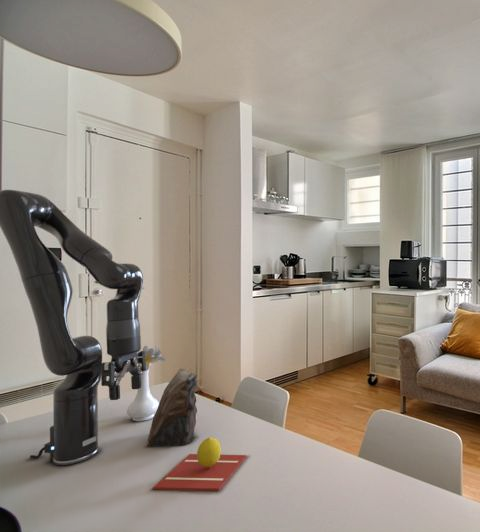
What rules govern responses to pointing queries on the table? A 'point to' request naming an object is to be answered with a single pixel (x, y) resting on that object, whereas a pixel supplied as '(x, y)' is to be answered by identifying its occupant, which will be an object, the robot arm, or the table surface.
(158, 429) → the brown rock
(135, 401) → the flower vase
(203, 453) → the lemon
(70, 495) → the table surface
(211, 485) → the pot holder
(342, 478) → the table surface
